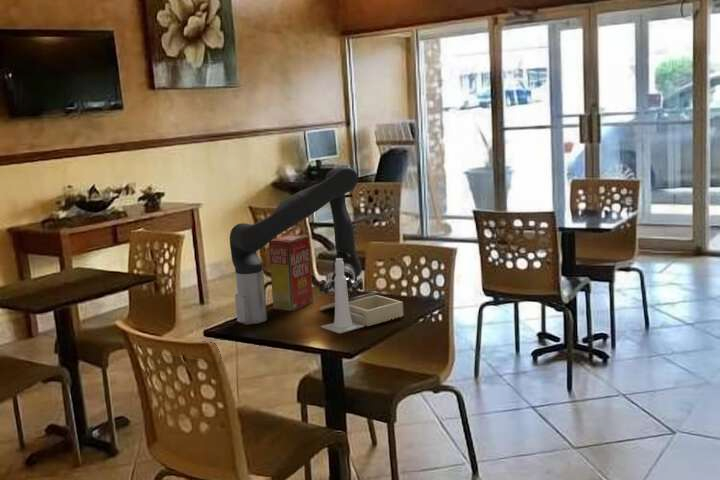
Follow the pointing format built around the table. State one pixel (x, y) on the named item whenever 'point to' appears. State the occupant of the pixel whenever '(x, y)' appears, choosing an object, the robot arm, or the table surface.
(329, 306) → the lid
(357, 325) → the mat
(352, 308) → the case
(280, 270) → the food packaging
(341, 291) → the cosmetic bottle
